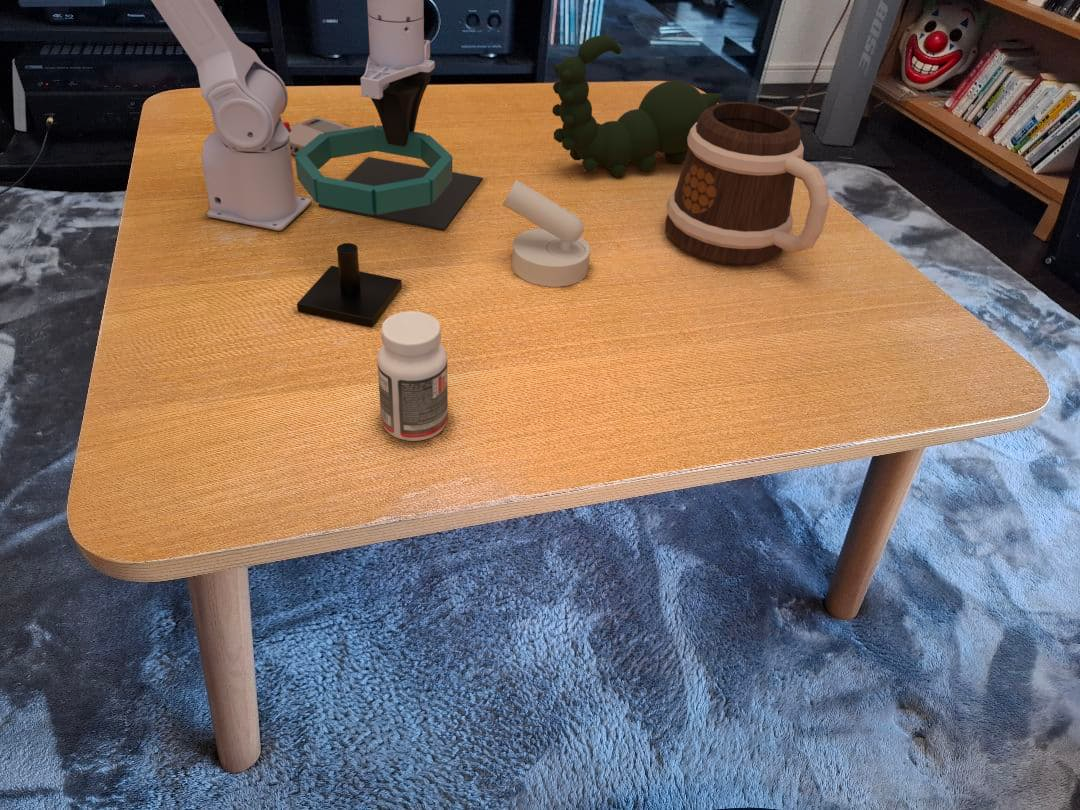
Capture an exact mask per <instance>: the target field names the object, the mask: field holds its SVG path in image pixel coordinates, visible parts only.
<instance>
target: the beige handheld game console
mask: <svg viewBox="0 0 1080 810" xmlns="http://www.w3.org/2000/svg"><path fill="white" fill-rule="evenodd" d="M283 124H284V126H285V127H286V129H287V130H288V132H289V139H290V147H291V155H294V156H295V154H296V153H297V152H299V151H300V150H301V149H302V148H304V147H305V146H306V145H307V144H308V143H310V142H311V141H312V140H313V139H314V138H316V137H317V136H318V135H319V134H324V133H325V132H331V131H338V130H345V129H352V128H353V127H351V126H347V125H345V124H342V123H339V122H336V121H333V120H331V119H327V118H324V117H320V116H314V117H311V118H307V119H306V120H303V121H301V122H298V123H295V124H293V125H290V122H288V121H283Z"/></svg>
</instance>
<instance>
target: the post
mask: <svg viewBox="0 0 1080 810" xmlns="http://www.w3.org/2000/svg"><path fill="white" fill-rule="evenodd" d="M336 253H337V266H335V265H330V266H329V267H328V268H327V270H326V271H325V272H324V273H323V274H322V275H321V276H320V277H319V279H318V280H317V281H316V282H314V284H313V285H312V286H311V287H310V288H309V289H308V290H307V292H306V293H305V294H304V295H303V296H302V297H301V298H300V299H299V301H298V302H297V303H296V308H297V312H298V313H302V314H303V313H304V314H307V315H311V316H316V317H321V318H326V319H330V320H334V321H335V320H336V321H340V322H346V323H349V324H354V325H359V326H364V327H369V328H373V327H374V325H375V324H376V323H377V321H378V320H379V319H380V318H381V316H382V315H383V313H384V312H385V311H386V309H387V308H389V305H390V304H391V303H392V301H393V300H394V299H395V298H396V296H397V295H398V293H399V292H400V291H401V289H403V288H402V287H403V283H402V279H400V278H395V277H390V276H385V275H382V274H381V275H380V274H376V273H370V272H366V271H361V270H360V263H359V249H358V245H357V244H354V243H350V242H345V243H341V244H339V245H337V247H336Z"/></svg>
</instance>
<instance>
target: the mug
mask: <svg viewBox="0 0 1080 810" xmlns="http://www.w3.org/2000/svg"><path fill="white" fill-rule="evenodd" d="M801 137H802V131H801V128H800V126H799V124H798V123H797V122H796V120H794V118H793V117H791V116H790V114H787V113H785V112H783V111H781V110H780V109H777V108H774V107H770V106H768V105H763V104H759V103H753V102H744V101H726V102H718V103H717V104H716V105H714V106H711V107H710V108H708V109H706V110H704V111H703V113H702V114H701V115H700V117H699V120H698V122H697V123H695V124H694V126H693V127H692V128H691V129H690V132H689V135H688V137H687V140H688V146H689V148H688V151H687V155H686V158H685V161H684V162H683V164H682V168H681V171H680V174H679V178H678V181H677V185H676V188H675V189H674V190H673V191H672V193H671V194H670V195H669V197H668V200H667V202H666V213H667V214H666V217H665V222H664V223H665V224H664V225H665V228H664V229H665V232H666V233H667V235H668V237H669V238H670V239H671V241H672V242H673V243H674V244H675V245H676V246H677V247H679V248H680V249H681V250H682V251H684V252H685V253H686V254H689V255H692V256H694V257H696V258H698V259H699V260H703V261H707V262H711V263H714V264H718V265H725V266H726V265H727V266H735V267H739V266H740V267H741V266H754V265H758V264H761V263H765V262H768V261H770V260H772V259H774V258H775V257H776V256H778V255H780V254H781V253H782V252H783V251H785V252H790V253H793V254H795V253H798V252H802V251H805V250H808V249H812V248H813V247H814V246H815V245H816V243H817V241H818V239H819V238H820V237H821V235H822V233H823V230H824V227H825V223H826V218H827V215H828V211H829V207H830V197H829V191H828V183H827V182H826V179H825V178H824V175H823V173H822V172H821V169H820V168H818V167H817V166H815V165H813V164H811V163H810V162H808V161H806V160H804V151H805V150H804V149H805V147H804V144H803V141H802V140H801ZM796 178H797V179H799V180H802V182H803V184H804V186H805V188H806V189H807V191H808V196H809V197H808V198H809V202H810V203H809V207H808V210H807V214H806V215H807V216H806V219H805V223H804V227H803V229H802V231H801V233H800V234H799V235H798V236H797V235H793V234H790V233H791V232H792V228H793V221H794V219H793V214H792V211H791V207H792V203H793V202H792V200H793V195H794V189H795V183H796Z"/></svg>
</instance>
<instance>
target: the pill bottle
mask: <svg viewBox="0 0 1080 810" xmlns="http://www.w3.org/2000/svg"><path fill="white" fill-rule="evenodd" d="M441 330H442V329H441V323H440V322H439V321H438V320H437V319H436V318H435V317H434V316H432V314H428V313H426V312H423V311H416V310H415V311H414V310H408V311H407V310H406V311H400V312H397V313H394V314H392V315H390V316H388V317H387V318H386V319H385V320H384V321H383V323H382V325H381V341H382V345H381V346H380V348H379V350H378V352H377V357H376V358H377V359H376V361H377V375H378V377H377V378H378V392H379V407H380V419H381V424H382V427H383V428H384V430H385V431H386V432H387V433H388V434H390V435H391V436H392V437H394V438H397V439H400V440H403V441H408V442H420V441H425V440H428V439H431V438H433V437H435V436H436V435H438V434H440V433H441V432H442V431H443V430H444V429H445V427H446V425H447V422H448V415H449V410H448V409H449V408H448V407H449V406H448V405H449V404H448V401H449V399H448V396H449V395H448V355H447V354H448V353H447V350H446V349H445V346H443V344H442V343H441V341H442V331H441Z"/></svg>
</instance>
